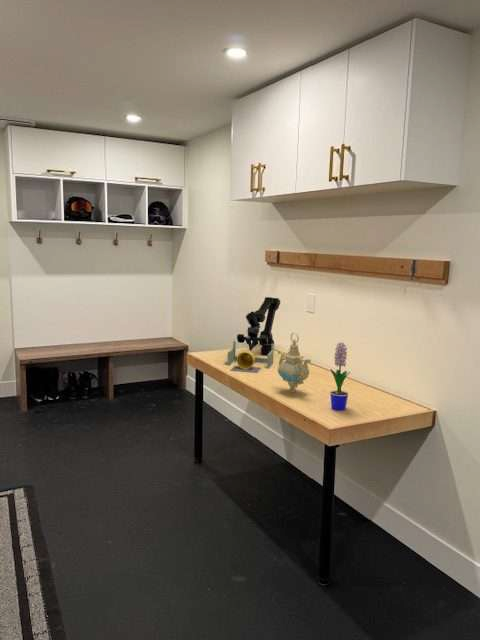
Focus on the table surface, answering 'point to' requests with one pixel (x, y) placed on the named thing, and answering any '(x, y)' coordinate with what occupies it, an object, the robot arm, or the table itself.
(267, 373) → the table surface
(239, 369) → the mat
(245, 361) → the plant pot
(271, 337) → the robot arm
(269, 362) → the grey-green open frame
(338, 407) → the hyacinth
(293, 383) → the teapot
